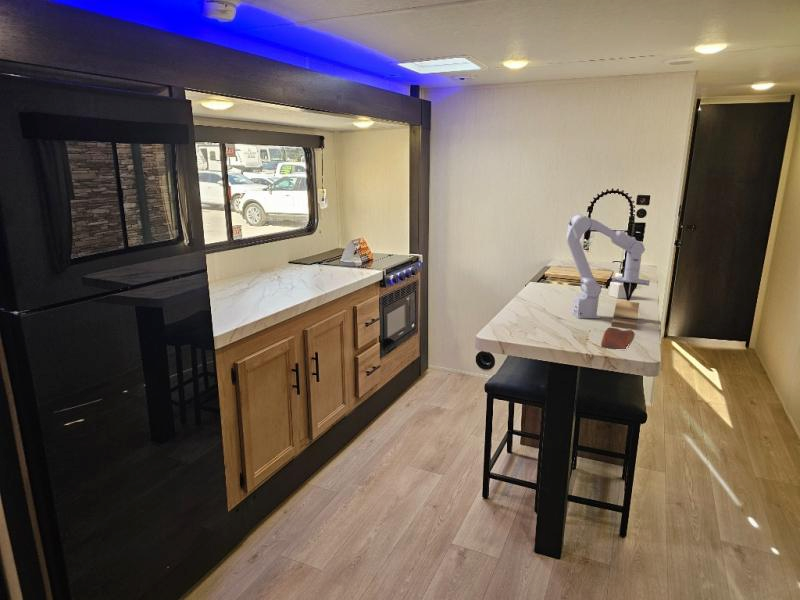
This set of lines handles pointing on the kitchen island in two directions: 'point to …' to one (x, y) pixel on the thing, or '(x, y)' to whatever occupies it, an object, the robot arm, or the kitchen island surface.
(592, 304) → the robot arm
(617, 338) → the wooden tablet
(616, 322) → the walnut board
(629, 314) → the oak plank
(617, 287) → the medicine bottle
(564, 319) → the kitchen island surface
